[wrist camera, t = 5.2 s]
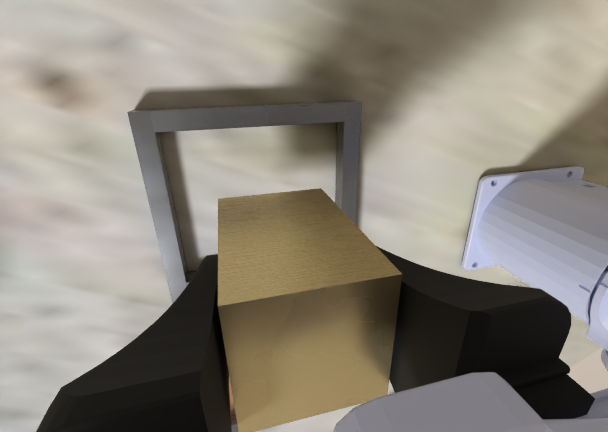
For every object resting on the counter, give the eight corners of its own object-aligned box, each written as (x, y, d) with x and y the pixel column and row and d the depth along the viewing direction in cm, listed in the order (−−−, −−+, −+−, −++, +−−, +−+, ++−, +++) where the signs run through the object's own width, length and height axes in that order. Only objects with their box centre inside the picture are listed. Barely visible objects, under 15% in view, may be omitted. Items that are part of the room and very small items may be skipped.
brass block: (320, 188, 14) (402, 274, 8) (320, 272, 16) (387, 396, 10) (218, 199, 13) (217, 306, 7) (230, 287, 15) (239, 435, 9)
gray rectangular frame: (353, 100, 19) (361, 102, 18) (341, 391, 29) (346, 403, 28) (133, 110, 16) (127, 112, 15) (205, 425, 26) (205, 440, 25)
